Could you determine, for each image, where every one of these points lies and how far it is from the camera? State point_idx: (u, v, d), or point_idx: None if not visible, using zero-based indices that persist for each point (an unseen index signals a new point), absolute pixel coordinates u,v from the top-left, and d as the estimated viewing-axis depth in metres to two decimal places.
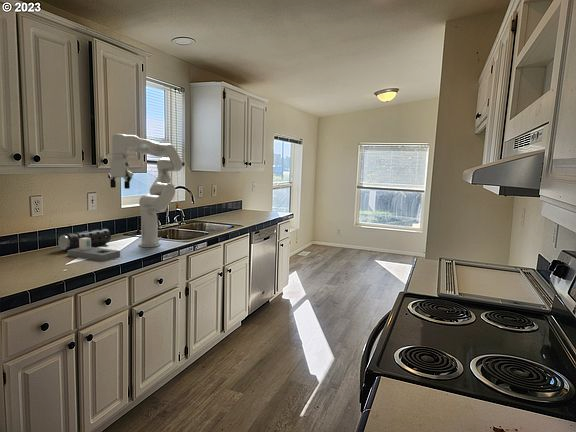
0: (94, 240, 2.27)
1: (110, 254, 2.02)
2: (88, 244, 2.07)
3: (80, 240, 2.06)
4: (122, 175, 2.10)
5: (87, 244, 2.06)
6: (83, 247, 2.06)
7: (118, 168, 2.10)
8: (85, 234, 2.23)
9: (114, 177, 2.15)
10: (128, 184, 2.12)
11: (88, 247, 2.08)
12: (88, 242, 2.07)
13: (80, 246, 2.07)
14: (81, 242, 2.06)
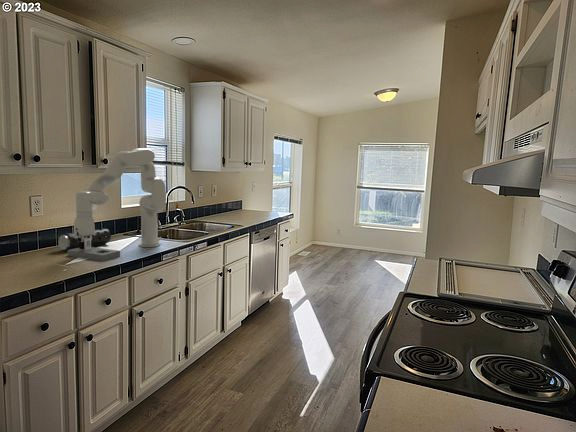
0: (94, 240, 2.27)
1: (110, 254, 2.02)
2: (88, 244, 2.07)
3: None
4: (93, 232, 2.10)
5: (87, 244, 2.06)
6: None
7: (90, 226, 2.07)
8: None
9: (79, 237, 2.05)
10: None
11: (88, 247, 2.08)
12: (88, 242, 2.07)
13: None
14: None
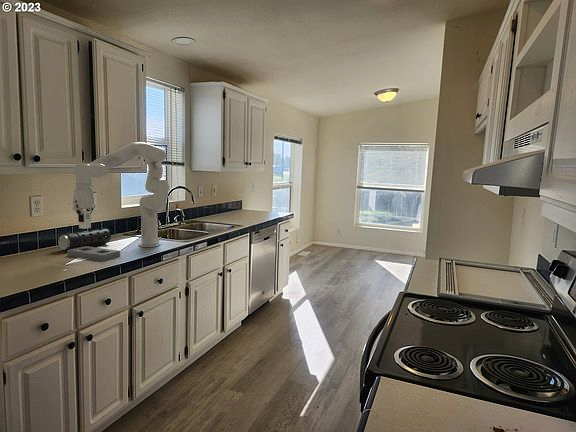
0: (94, 240, 2.27)
1: (110, 254, 2.02)
2: (87, 217, 2.05)
3: None
4: (92, 205, 2.08)
5: (86, 217, 2.05)
6: None
7: (89, 199, 2.05)
8: (85, 234, 2.23)
9: None
10: None
11: (87, 220, 2.06)
12: (87, 215, 2.05)
13: None
14: None
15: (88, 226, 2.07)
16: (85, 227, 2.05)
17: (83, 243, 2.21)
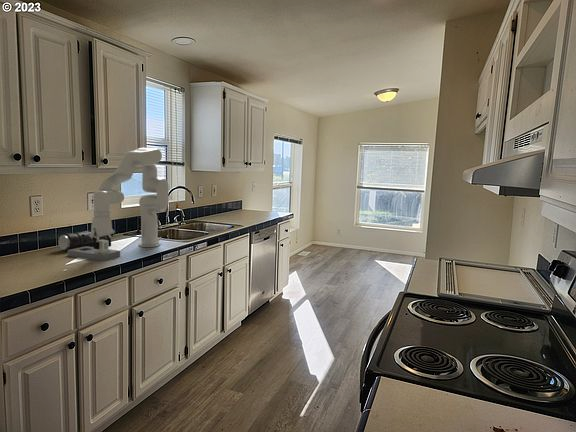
0: None
1: (110, 254, 2.02)
2: (106, 246, 2.03)
3: None
4: (110, 232, 2.06)
5: (105, 246, 2.03)
6: (101, 249, 2.02)
7: (107, 226, 2.03)
8: (85, 234, 2.23)
9: (95, 237, 2.00)
10: None
11: (106, 249, 2.04)
12: (106, 244, 2.03)
13: None
14: (99, 244, 2.02)
15: None
16: None
17: (83, 243, 2.21)
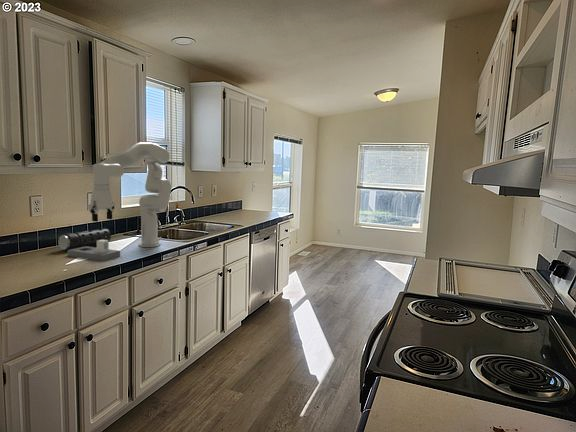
0: (94, 240, 2.27)
1: (110, 254, 2.02)
2: (106, 246, 2.03)
3: (98, 242, 2.02)
4: (110, 206, 2.05)
5: (105, 246, 2.03)
6: (101, 249, 2.02)
7: (107, 199, 2.02)
8: (85, 234, 2.23)
9: (93, 210, 1.98)
10: None
11: (106, 249, 2.04)
12: (106, 244, 2.03)
13: (97, 248, 2.03)
14: (99, 244, 2.02)
15: None
16: None
17: (83, 243, 2.21)
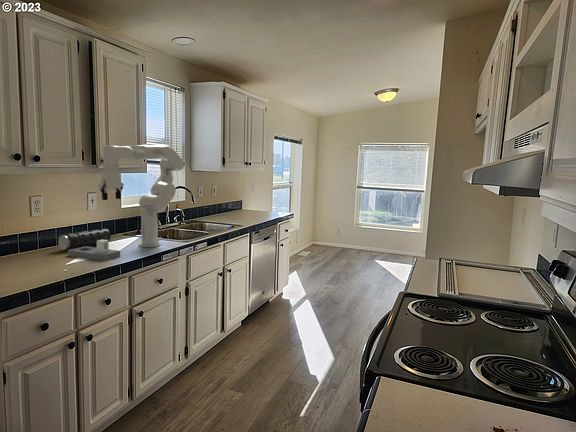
0: (94, 240, 2.27)
1: (110, 254, 2.02)
2: (106, 246, 2.03)
3: (98, 242, 2.02)
4: (119, 186, 2.16)
5: (105, 246, 2.03)
6: (101, 249, 2.02)
7: (116, 180, 2.13)
8: (85, 234, 2.23)
9: None
10: None
11: (106, 249, 2.04)
12: (106, 244, 2.03)
13: (97, 248, 2.03)
14: (99, 244, 2.02)
15: None
16: None
17: (83, 243, 2.21)
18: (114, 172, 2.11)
